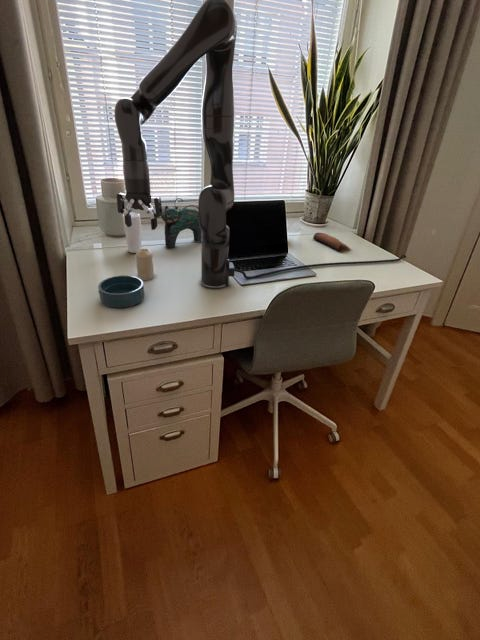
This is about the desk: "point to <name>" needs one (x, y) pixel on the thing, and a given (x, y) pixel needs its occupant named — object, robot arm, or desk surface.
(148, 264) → the candle
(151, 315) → the desk surface
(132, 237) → the drinking glass
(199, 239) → the ceramic cat
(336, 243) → the brown tapered cylinder
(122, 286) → the bowl
